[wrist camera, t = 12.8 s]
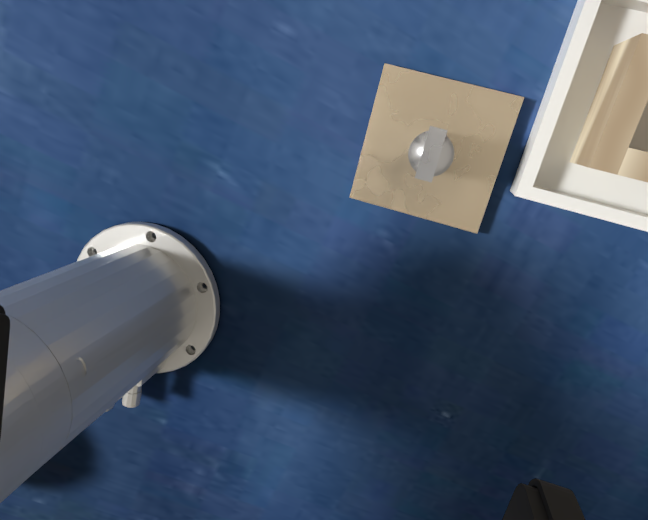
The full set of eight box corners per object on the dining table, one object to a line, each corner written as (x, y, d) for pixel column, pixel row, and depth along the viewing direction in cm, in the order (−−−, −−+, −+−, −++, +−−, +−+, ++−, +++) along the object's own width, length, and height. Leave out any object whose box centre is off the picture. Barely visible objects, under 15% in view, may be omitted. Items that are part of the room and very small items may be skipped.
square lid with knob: (476, 231, 35) (483, 250, 30) (351, 196, 37) (336, 208, 31) (522, 97, 33) (539, 92, 27) (385, 64, 34) (375, 53, 29)
